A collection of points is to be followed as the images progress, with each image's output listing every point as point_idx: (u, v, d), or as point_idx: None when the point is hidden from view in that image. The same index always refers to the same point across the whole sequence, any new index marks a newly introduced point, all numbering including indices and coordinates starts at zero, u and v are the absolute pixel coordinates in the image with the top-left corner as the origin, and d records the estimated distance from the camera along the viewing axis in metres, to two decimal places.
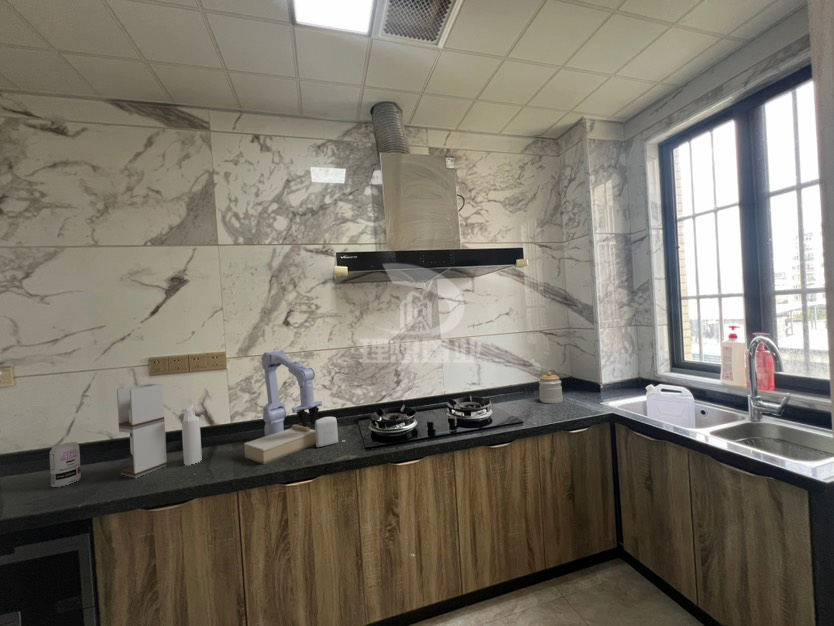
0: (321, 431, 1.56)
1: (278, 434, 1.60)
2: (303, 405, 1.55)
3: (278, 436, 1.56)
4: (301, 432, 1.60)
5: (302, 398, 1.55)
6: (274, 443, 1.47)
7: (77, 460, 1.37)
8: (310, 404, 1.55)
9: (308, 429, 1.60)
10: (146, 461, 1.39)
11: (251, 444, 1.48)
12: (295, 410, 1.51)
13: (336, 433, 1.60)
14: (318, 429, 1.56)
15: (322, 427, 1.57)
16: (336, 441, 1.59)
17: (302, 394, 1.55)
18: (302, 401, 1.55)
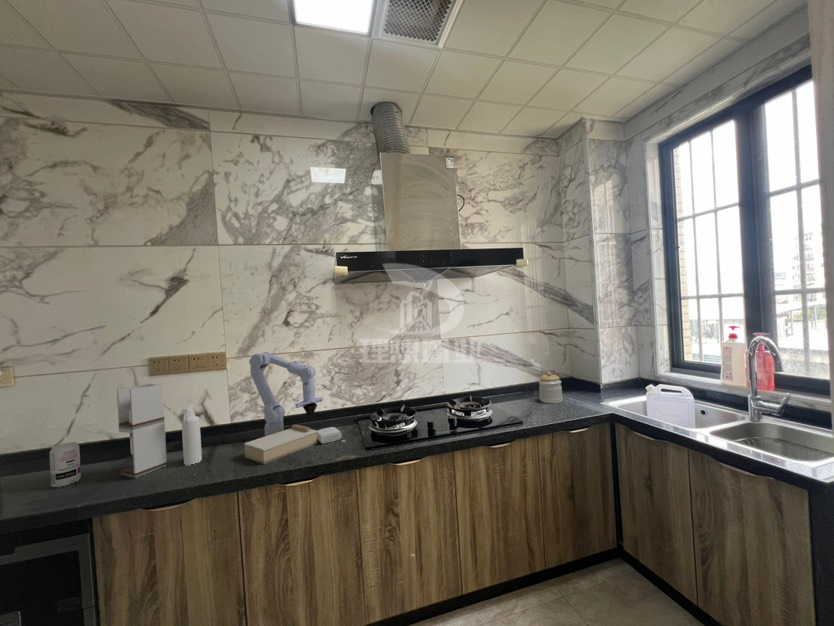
0: (321, 431, 1.66)
1: (278, 434, 1.60)
2: (305, 400, 1.68)
3: (278, 436, 1.56)
4: (301, 432, 1.60)
5: (305, 394, 1.68)
6: (274, 443, 1.47)
7: (77, 460, 1.37)
8: (312, 400, 1.68)
9: (308, 429, 1.60)
10: (146, 461, 1.39)
11: (251, 444, 1.48)
12: (298, 405, 1.64)
13: (336, 429, 1.68)
14: (318, 431, 1.67)
15: (321, 430, 1.68)
16: (338, 431, 1.64)
17: (307, 390, 1.68)
18: (305, 397, 1.68)
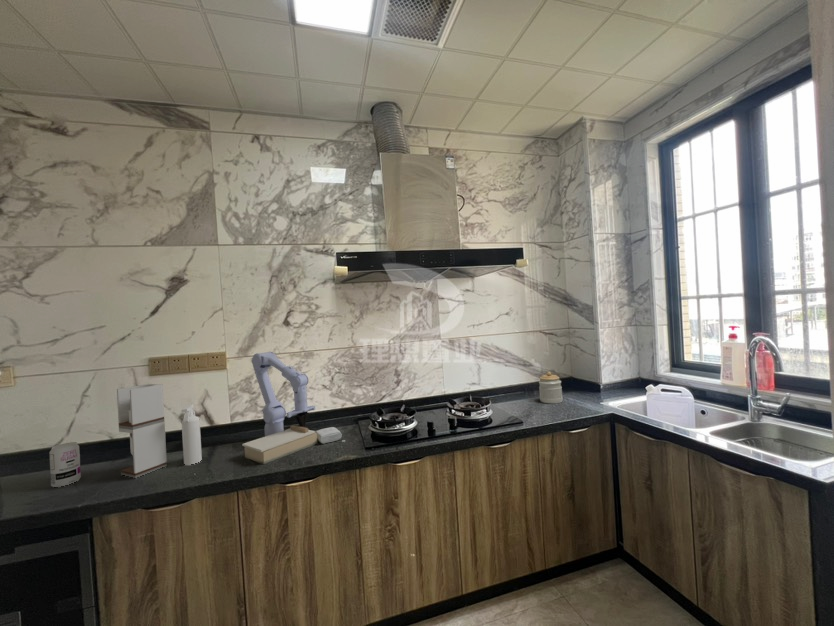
0: (321, 431, 1.66)
1: (276, 435, 1.59)
2: (297, 409, 1.62)
3: (277, 437, 1.56)
4: (299, 433, 1.60)
5: (296, 403, 1.63)
6: (272, 444, 1.47)
7: (77, 460, 1.37)
8: (304, 408, 1.63)
9: (306, 429, 1.60)
10: (146, 461, 1.39)
11: (249, 445, 1.48)
12: (289, 414, 1.59)
13: (336, 429, 1.68)
14: (318, 431, 1.67)
15: (321, 430, 1.68)
16: (338, 431, 1.64)
17: (297, 399, 1.62)
18: (296, 406, 1.63)
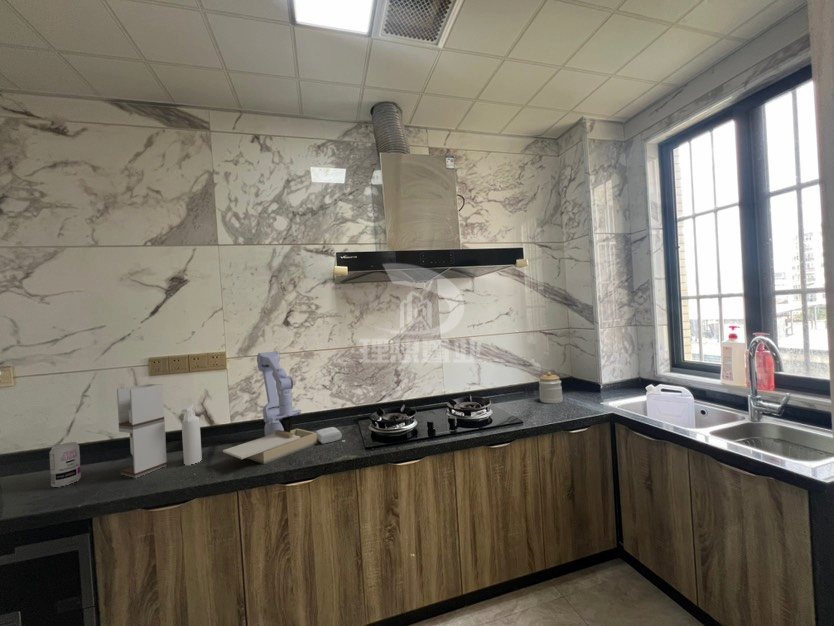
0: (321, 431, 1.66)
1: (259, 440, 1.53)
2: (281, 414, 1.56)
3: (259, 443, 1.49)
4: (284, 438, 1.53)
5: (281, 407, 1.56)
6: (254, 450, 1.40)
7: (77, 460, 1.37)
8: (289, 413, 1.57)
9: (290, 435, 1.53)
10: (146, 461, 1.39)
11: (230, 451, 1.41)
12: (273, 419, 1.53)
13: (336, 429, 1.68)
14: (318, 431, 1.67)
15: (321, 430, 1.68)
16: (338, 431, 1.64)
17: (279, 403, 1.57)
18: (281, 410, 1.56)
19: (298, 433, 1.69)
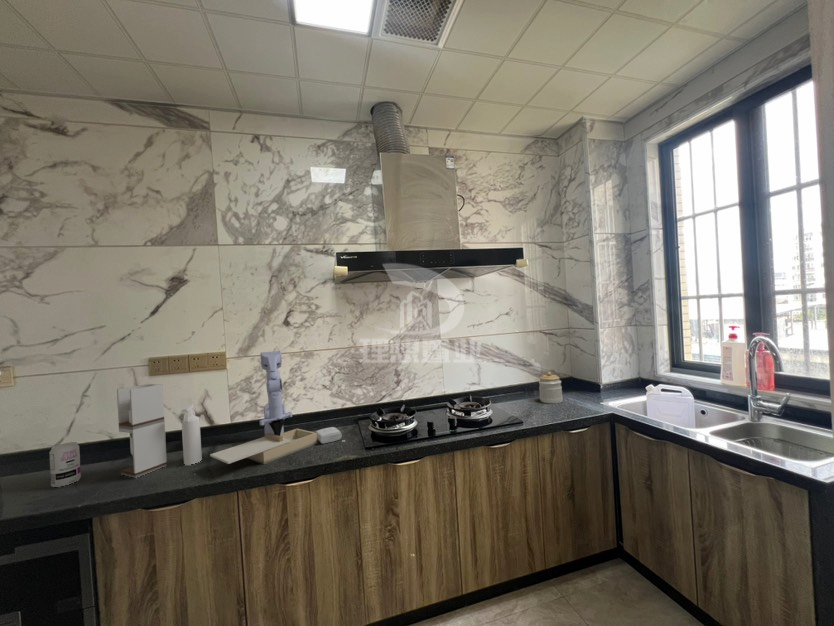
0: (321, 431, 1.66)
1: (248, 444, 1.49)
2: (271, 417, 1.52)
3: (248, 446, 1.45)
4: (273, 442, 1.49)
5: (270, 410, 1.52)
6: (241, 454, 1.36)
7: (77, 460, 1.37)
8: (278, 416, 1.53)
9: (280, 438, 1.49)
10: (146, 461, 1.39)
11: (217, 455, 1.37)
12: (262, 422, 1.49)
13: (336, 429, 1.68)
14: (318, 431, 1.67)
15: (321, 430, 1.68)
16: (338, 431, 1.64)
17: (268, 405, 1.53)
18: (270, 413, 1.52)
19: (298, 433, 1.69)
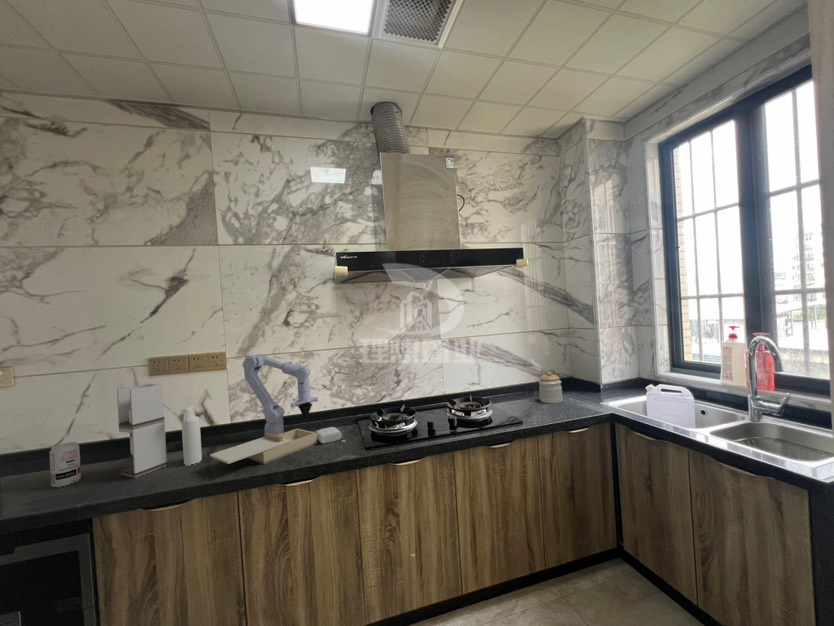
0: (321, 431, 1.66)
1: (248, 444, 1.49)
2: (300, 400, 1.69)
3: (248, 446, 1.45)
4: (273, 442, 1.49)
5: (299, 394, 1.70)
6: (241, 454, 1.36)
7: (77, 460, 1.37)
8: (307, 399, 1.70)
9: (280, 438, 1.49)
10: (146, 461, 1.39)
11: (217, 455, 1.37)
12: (293, 405, 1.66)
13: (336, 429, 1.68)
14: (318, 431, 1.67)
15: (321, 430, 1.68)
16: (338, 431, 1.64)
17: (303, 390, 1.70)
18: (299, 396, 1.70)
19: (298, 433, 1.69)
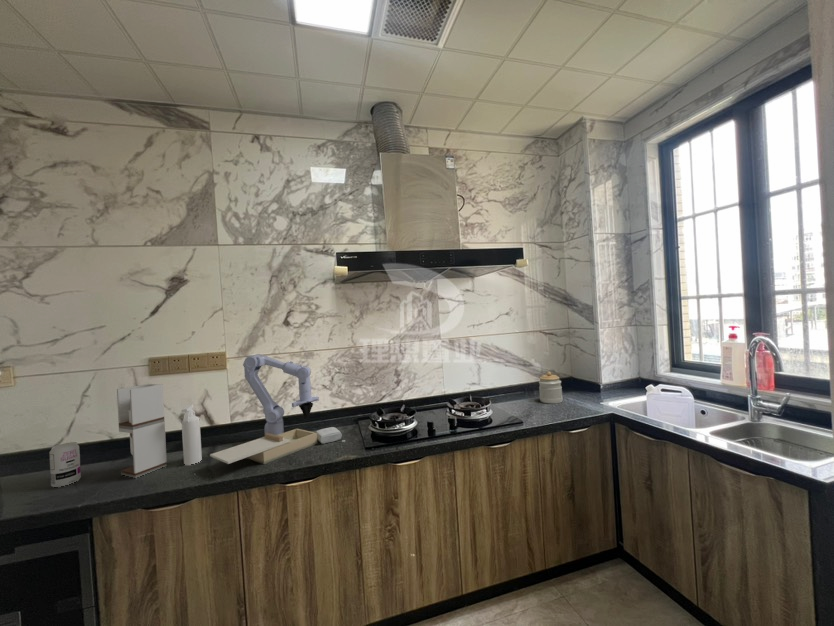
0: (321, 431, 1.66)
1: (248, 444, 1.49)
2: (302, 400, 1.70)
3: (248, 446, 1.45)
4: (273, 442, 1.49)
5: (301, 393, 1.70)
6: (241, 454, 1.36)
7: (77, 460, 1.37)
8: (308, 399, 1.71)
9: (280, 438, 1.49)
10: (146, 461, 1.39)
11: (217, 455, 1.37)
12: (294, 404, 1.67)
13: (336, 429, 1.68)
14: (318, 431, 1.67)
15: (321, 430, 1.68)
16: (338, 431, 1.64)
17: (304, 390, 1.70)
18: (301, 396, 1.70)
19: (298, 433, 1.69)
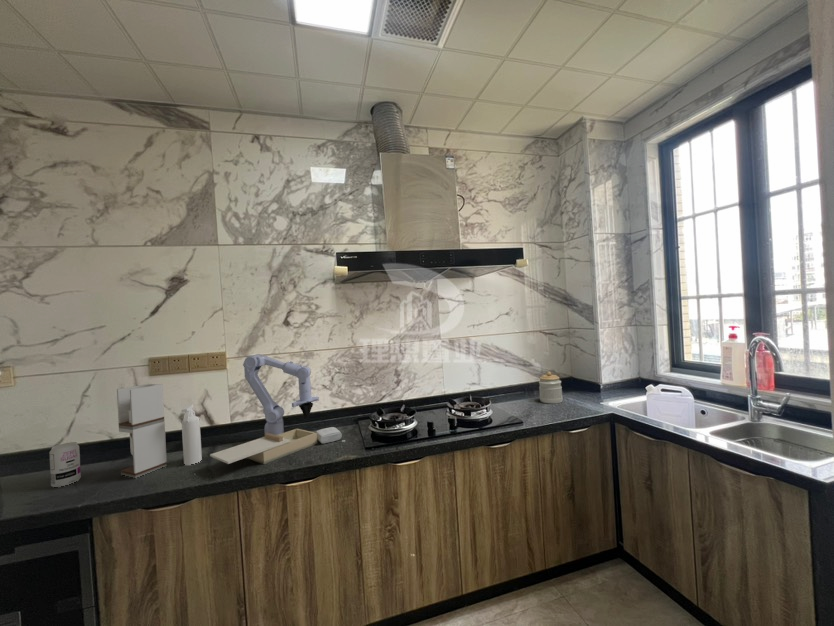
0: (321, 431, 1.66)
1: (248, 444, 1.49)
2: (302, 400, 1.70)
3: (248, 446, 1.45)
4: (273, 442, 1.49)
5: (301, 393, 1.70)
6: (241, 454, 1.36)
7: (77, 460, 1.37)
8: (308, 399, 1.71)
9: (280, 438, 1.49)
10: (146, 461, 1.39)
11: (217, 455, 1.37)
12: (294, 404, 1.67)
13: (336, 429, 1.68)
14: (318, 431, 1.67)
15: (321, 430, 1.68)
16: (338, 431, 1.64)
17: (304, 390, 1.70)
18: (301, 396, 1.70)
19: (298, 433, 1.69)
